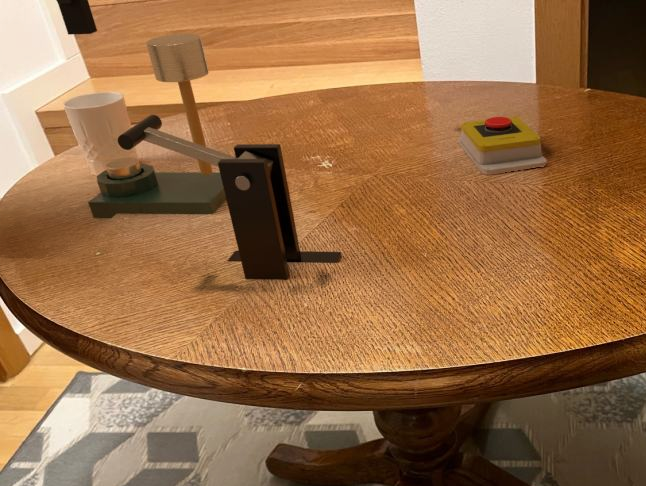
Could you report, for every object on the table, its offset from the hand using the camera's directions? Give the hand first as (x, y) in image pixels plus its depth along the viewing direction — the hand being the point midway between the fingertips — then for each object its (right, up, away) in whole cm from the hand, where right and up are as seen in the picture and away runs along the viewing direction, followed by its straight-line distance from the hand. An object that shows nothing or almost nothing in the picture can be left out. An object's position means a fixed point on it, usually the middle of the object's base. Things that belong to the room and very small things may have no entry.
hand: (82, 32), depth 83 cm
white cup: (-8, -10, +24) cm, 27 cm away
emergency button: (+49, -8, +22) cm, 54 cm away
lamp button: (0, -14, +11) cm, 18 cm away
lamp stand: (+11, -14, +10) cm, 20 cm away
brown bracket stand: (+24, -29, -6) cm, 38 cm away
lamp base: (+5, -17, +13) cm, 22 cm away
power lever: (+18, -18, -13) cm, 28 cm away
